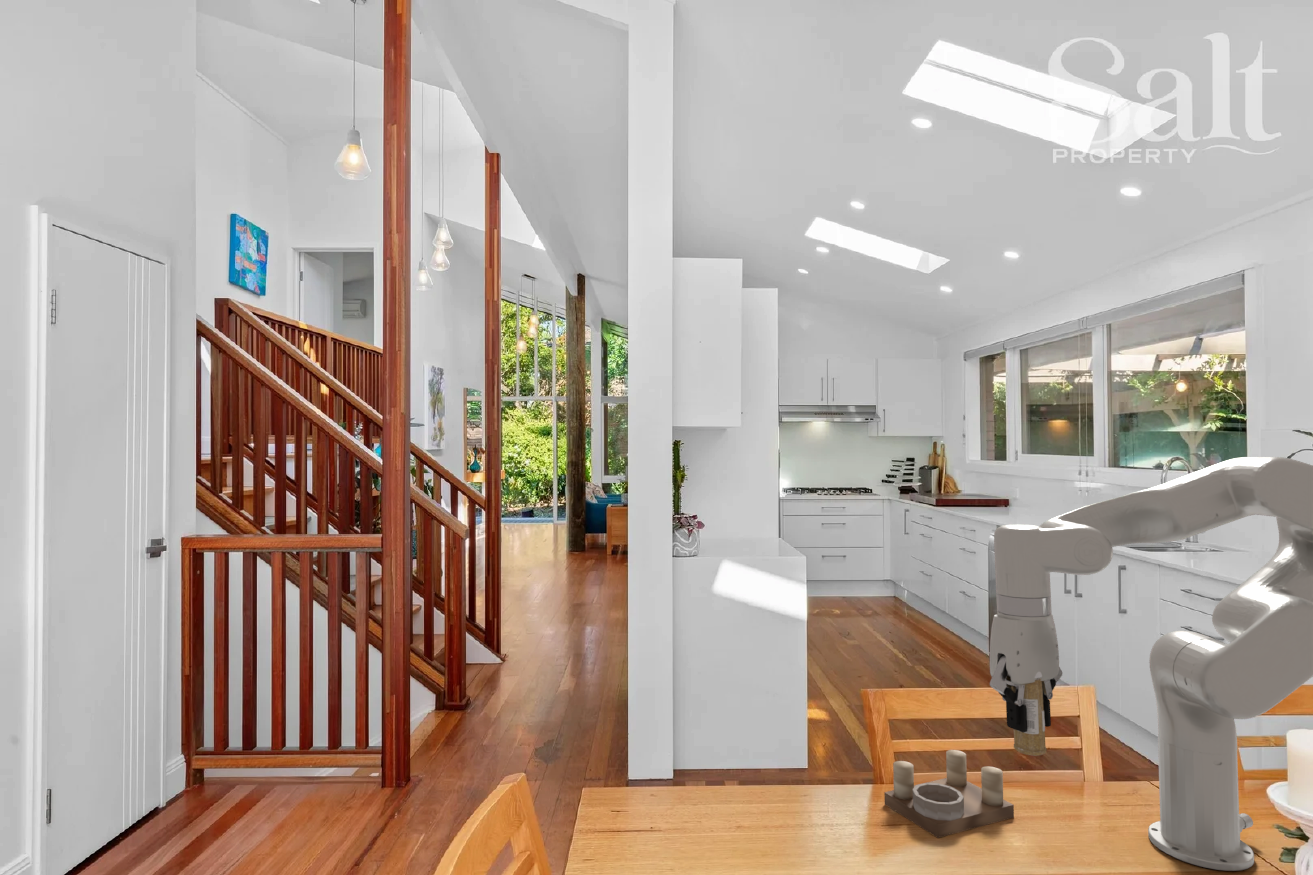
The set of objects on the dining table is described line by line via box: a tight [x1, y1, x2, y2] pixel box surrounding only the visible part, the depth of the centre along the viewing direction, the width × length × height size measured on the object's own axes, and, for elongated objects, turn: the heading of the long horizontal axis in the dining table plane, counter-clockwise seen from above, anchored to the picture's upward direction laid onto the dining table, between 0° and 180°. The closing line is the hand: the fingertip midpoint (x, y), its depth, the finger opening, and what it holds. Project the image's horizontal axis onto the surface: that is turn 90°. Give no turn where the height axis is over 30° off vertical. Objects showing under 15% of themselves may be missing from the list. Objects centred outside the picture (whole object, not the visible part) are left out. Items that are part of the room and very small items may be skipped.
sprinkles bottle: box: [1012, 672, 1047, 757], centre depth 112 cm, size 5×5×14 cm
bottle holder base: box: [883, 749, 1015, 839], centre depth 121 cm, size 16×12×7 cm
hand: (1028, 725), depth 112 cm, fingers closed on sprinkles bottle, 4 cm apart
